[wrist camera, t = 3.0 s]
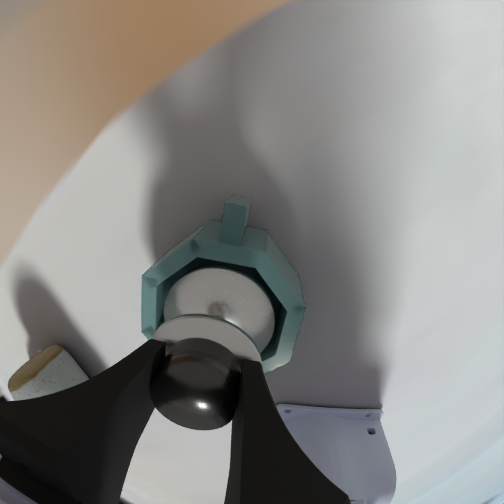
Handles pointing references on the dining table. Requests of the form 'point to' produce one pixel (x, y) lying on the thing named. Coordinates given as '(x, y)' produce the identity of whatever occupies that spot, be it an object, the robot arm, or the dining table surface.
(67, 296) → the dining table surface
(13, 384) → the ceramic mug
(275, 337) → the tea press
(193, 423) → the black and white knob
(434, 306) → the dining table surface
